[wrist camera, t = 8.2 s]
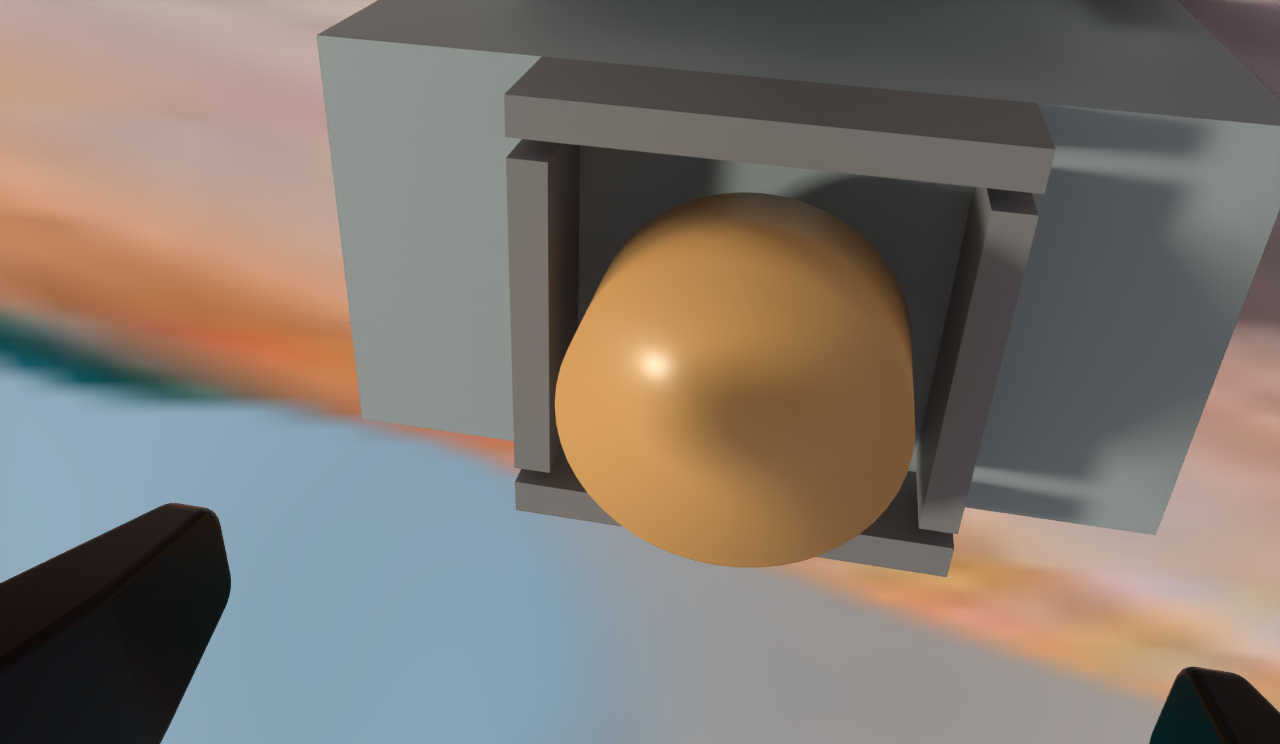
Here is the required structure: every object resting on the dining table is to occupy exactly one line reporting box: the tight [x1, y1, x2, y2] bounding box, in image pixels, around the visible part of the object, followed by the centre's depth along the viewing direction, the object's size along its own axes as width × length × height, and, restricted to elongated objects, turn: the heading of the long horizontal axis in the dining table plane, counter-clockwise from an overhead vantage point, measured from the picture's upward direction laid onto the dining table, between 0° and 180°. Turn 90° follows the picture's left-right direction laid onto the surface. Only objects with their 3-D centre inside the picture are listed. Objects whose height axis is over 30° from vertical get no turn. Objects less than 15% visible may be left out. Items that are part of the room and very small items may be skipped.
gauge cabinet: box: [317, 0, 1280, 577], centre depth 17 cm, size 12×6×9 cm, turn 88°
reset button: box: [555, 192, 915, 567], centre depth 13 cm, size 4×4×2 cm
